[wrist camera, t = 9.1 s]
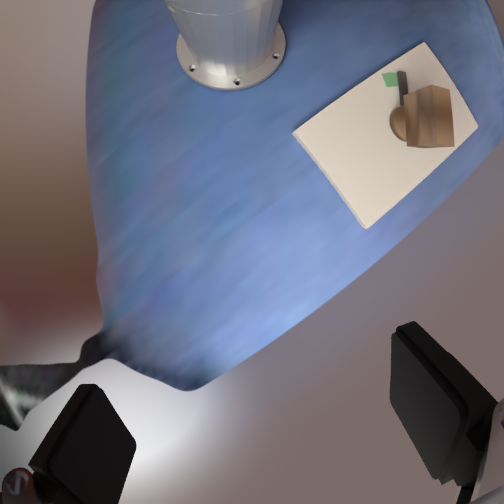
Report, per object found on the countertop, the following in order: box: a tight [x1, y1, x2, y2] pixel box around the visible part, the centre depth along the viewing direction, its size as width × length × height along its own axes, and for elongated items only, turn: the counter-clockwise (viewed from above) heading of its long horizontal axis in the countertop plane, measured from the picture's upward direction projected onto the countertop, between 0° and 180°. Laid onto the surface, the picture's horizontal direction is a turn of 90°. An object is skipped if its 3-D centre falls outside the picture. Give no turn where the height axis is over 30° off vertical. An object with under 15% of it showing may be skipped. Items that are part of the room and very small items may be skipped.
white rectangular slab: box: [292, 42, 478, 229], centre depth 31 cm, size 24×14×2 cm, turn 130°
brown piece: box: [389, 71, 455, 148], centre depth 25 cm, size 10×4×8 cm, turn 2°
